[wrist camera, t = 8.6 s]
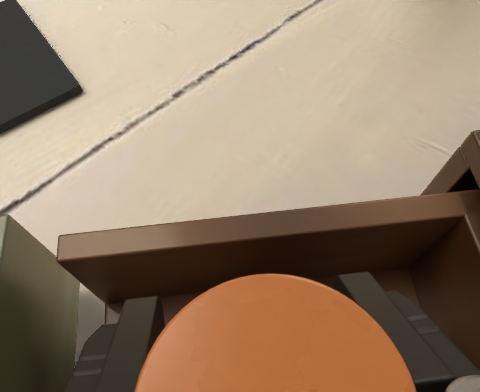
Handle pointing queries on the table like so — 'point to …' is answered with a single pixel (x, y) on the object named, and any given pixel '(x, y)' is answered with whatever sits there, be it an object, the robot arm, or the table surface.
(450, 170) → the cabinet
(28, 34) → the mat
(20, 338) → the drawer
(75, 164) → the table surface
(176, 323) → the spice tin
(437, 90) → the table surface
